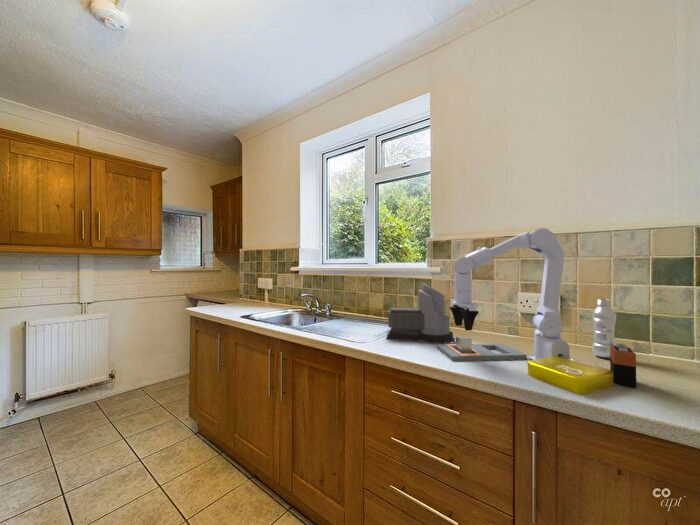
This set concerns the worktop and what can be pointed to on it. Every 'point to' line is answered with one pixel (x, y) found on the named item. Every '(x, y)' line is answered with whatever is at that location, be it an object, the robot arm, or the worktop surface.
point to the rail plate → (482, 352)
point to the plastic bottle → (603, 328)
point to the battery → (623, 365)
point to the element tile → (571, 374)
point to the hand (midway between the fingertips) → (463, 327)
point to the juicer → (422, 319)
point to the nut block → (464, 344)
